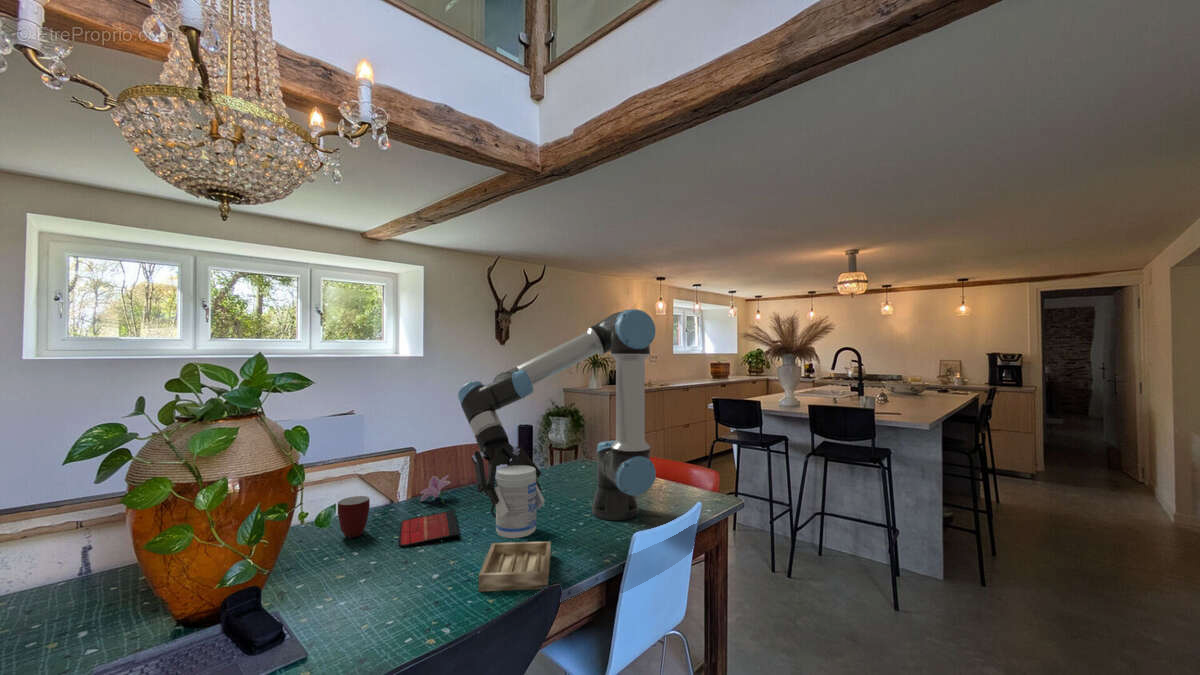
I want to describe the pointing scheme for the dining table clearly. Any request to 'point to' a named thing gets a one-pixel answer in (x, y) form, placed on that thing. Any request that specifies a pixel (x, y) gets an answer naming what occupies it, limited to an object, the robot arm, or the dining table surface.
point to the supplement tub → (517, 501)
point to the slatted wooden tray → (516, 566)
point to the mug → (353, 515)
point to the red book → (428, 529)
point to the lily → (435, 487)
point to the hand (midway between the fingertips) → (523, 509)
